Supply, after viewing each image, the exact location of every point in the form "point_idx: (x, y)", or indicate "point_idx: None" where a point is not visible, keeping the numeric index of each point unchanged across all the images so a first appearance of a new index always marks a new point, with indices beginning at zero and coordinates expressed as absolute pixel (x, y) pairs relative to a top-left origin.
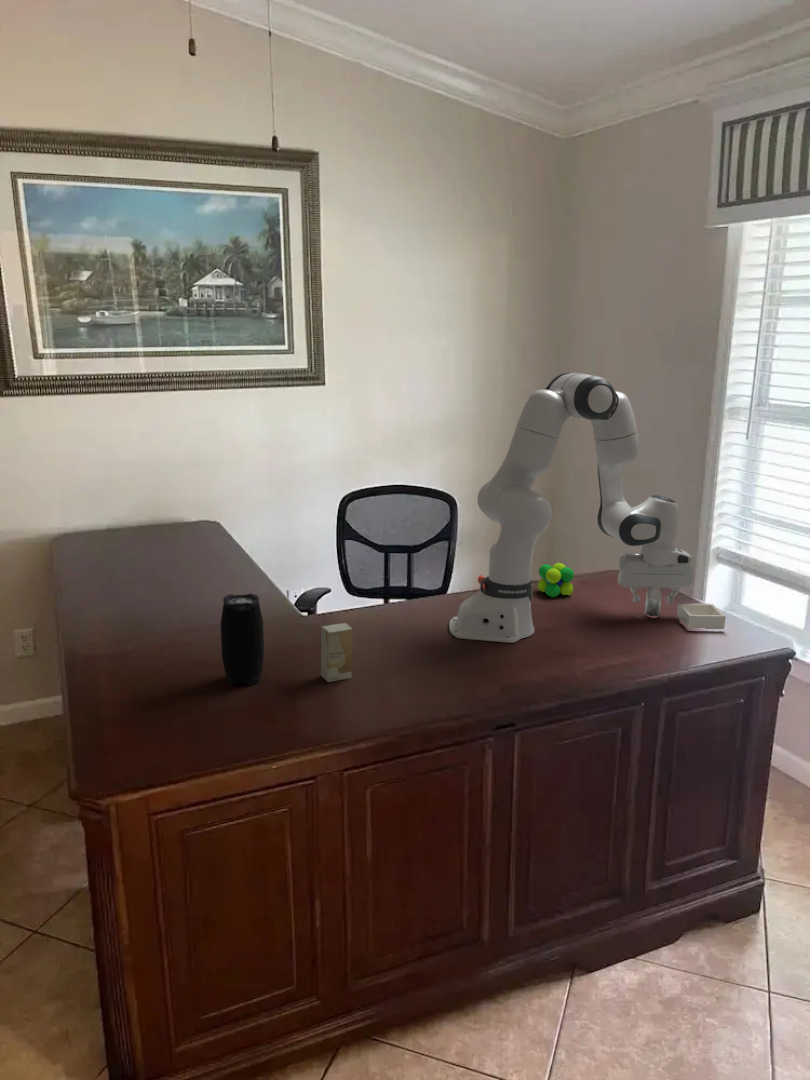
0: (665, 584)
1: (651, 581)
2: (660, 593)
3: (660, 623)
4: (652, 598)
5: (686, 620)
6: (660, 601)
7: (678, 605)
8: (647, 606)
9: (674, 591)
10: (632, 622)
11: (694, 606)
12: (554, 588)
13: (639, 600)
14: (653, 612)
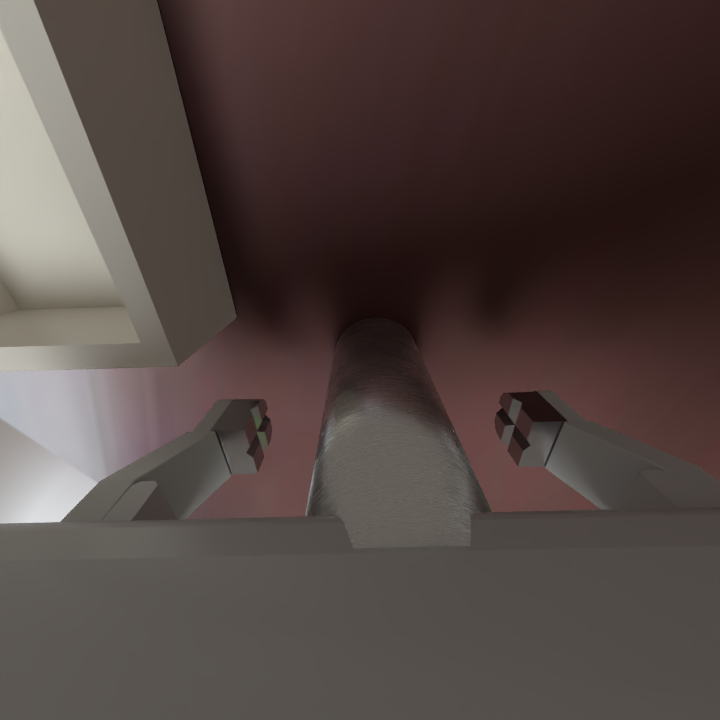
0: (243, 582)
1: (591, 667)
2: (337, 442)
3: (356, 225)
4: (422, 394)
5: (114, 33)
6: (333, 393)
7: (181, 349)
8: (428, 372)
9: (166, 495)
10: (548, 232)
11: (39, 340)
12: None
13: (518, 398)
14: (385, 331)
